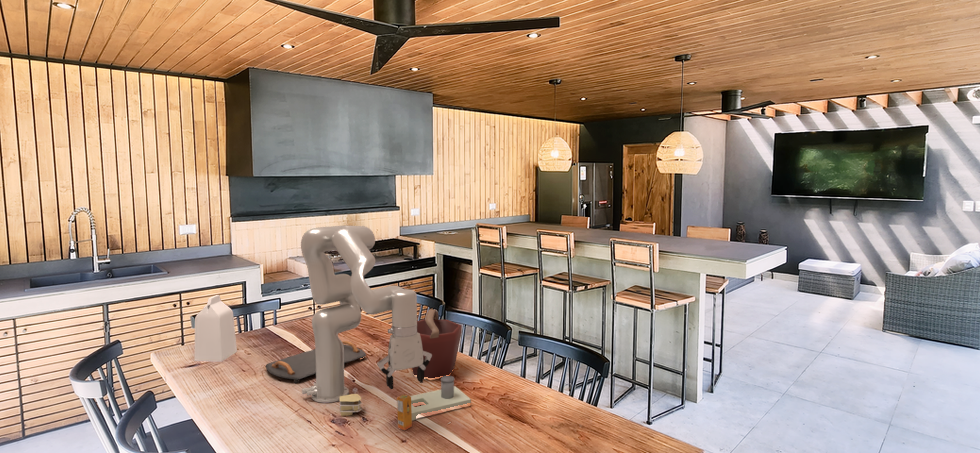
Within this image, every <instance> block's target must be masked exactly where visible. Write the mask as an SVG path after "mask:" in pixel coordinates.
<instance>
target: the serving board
mask: <svg viewBox="0 0 980 453" xmlns="http://www.w3.org/2000/svg"><path fill="white" fill-rule="evenodd" d="M341 341H342V340H341ZM342 343H343V346H344V364H347V363H350V362H352V361H355V360H357V359H359V358H363V357H364V358H365V357H366V356H367V353H366V352H365V351H364V350H362V349H360V348H359V347H357V346H356V345H355V343H353V342H351V341H348V340H343V341H342ZM265 368H266V370H267V372H269V373H270V374H271V375H274V376H275V377H279V378H282V379H288V380H293V383H294V384H299V383H300V380H301V379H303V378H307V377H309V376H313V375H316V354H315V348H314V349H311V350H307V351H304V352H301V353H299V354H294V355H291V356H288V357H285V358H282V359H281V358H280V359H279V360H274V361H272V362H268V363H266V365H265Z"/></svg>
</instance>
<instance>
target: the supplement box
mask: <svg viewBox="0 0 980 453" xmlns="http://www.w3.org/2000/svg"><path fill="white" fill-rule="evenodd" d="M411 396H412V395H408V394H405V393H404V394H402V395H400V396H398V397H396V407H397V408H396V410H397V411H396V412H397V428H398V429H399V428H400V430H402V431H407V430H408V429H410V428H412V427H413V421H412V410H411Z"/></svg>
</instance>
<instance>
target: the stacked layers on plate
mask: <svg viewBox="0 0 980 453" xmlns="http://www.w3.org/2000/svg"><path fill="white" fill-rule="evenodd" d="M361 400H362V397H361V396H360V395H359V394H358V393H351V394H350V393H349V394H348V395H344V396H340V400H339V413H340V417H344V416H345V417H346V416H353V413H358V412H360V411H362V409H363V408H362V406H361V405H362V401H361Z"/></svg>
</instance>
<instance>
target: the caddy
mask: <svg viewBox="0 0 980 453" xmlns="http://www.w3.org/2000/svg"><path fill="white" fill-rule="evenodd" d="M410 396H411V410H412V422H413V421H416V420H415V419H416V416H417V415H418V414H421V413H427V412H432V411H438V410H441V409H446V408H450V407H454V406H458V405H463V404H467V403H471V404H472V399H471V398H470V397H469V396H468V395H467V394H465V393H464V392H463V391H462V390H461V389H459V388H458V387H457V386H455V376H452V375H450V376H443V377H441V379H440V389H437V390H432V391H428V392H427V391H426V392H423V393H418V394H414V395H410ZM418 402H424V403H425V404H426V405H421V406H417V407H414V406H413V405H412V404H413V403H418Z"/></svg>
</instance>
